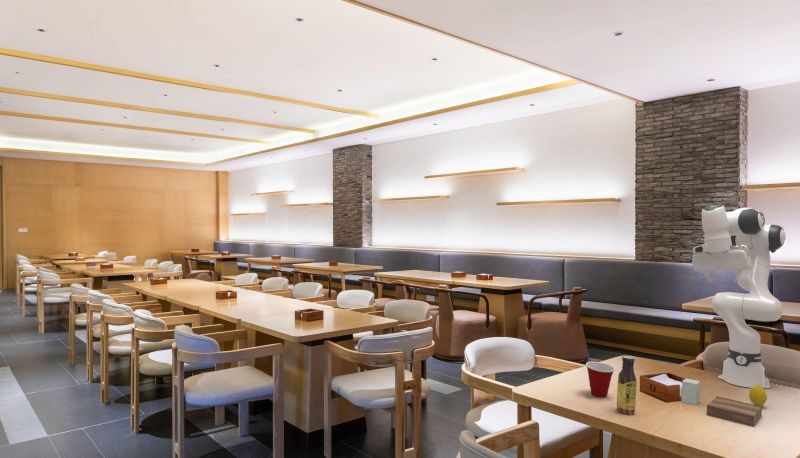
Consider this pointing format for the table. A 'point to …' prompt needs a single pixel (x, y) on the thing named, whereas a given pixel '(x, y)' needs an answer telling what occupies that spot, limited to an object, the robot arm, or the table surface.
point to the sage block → (691, 391)
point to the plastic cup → (599, 378)
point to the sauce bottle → (627, 387)
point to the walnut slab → (734, 411)
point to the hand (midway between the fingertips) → (723, 281)
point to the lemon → (757, 395)
